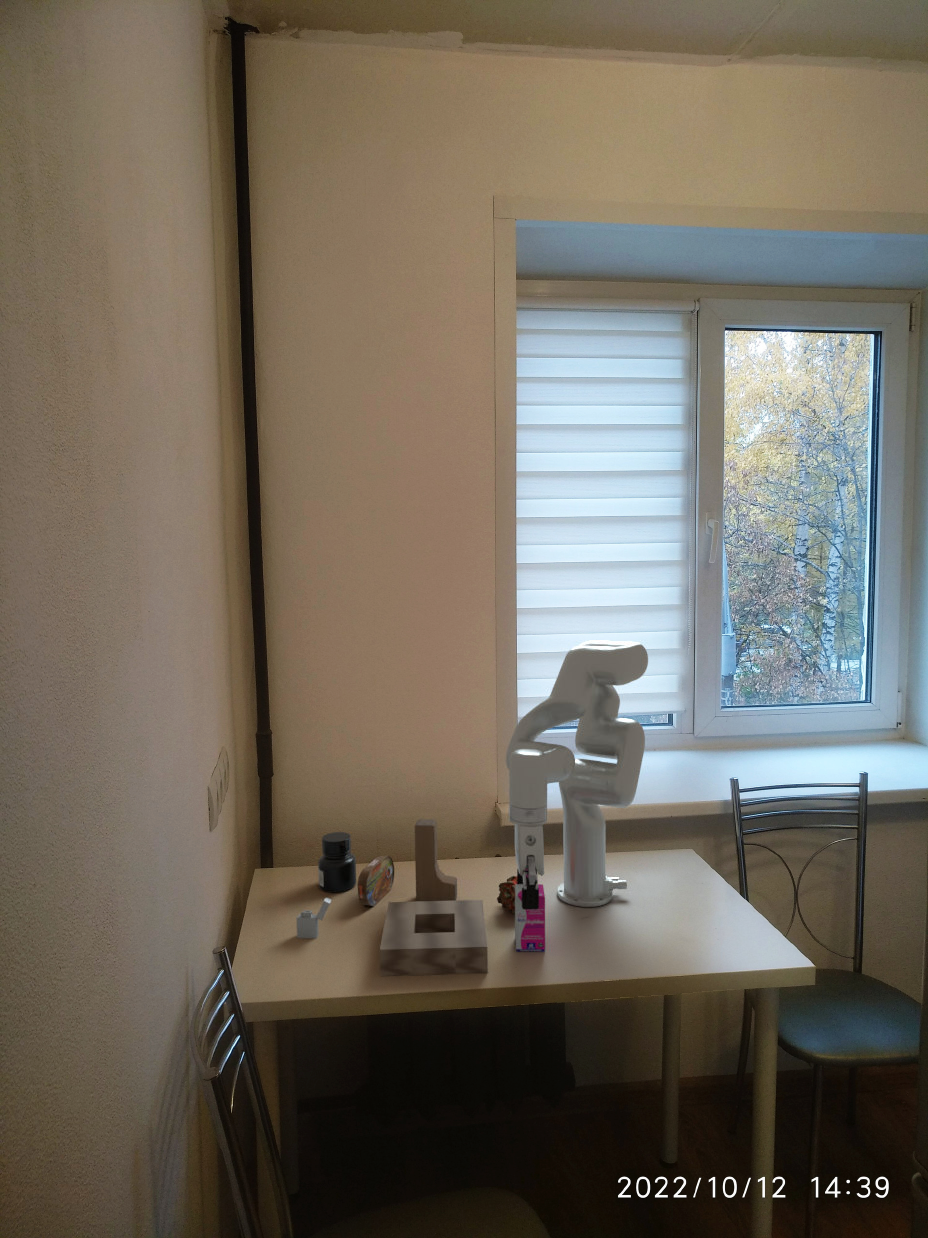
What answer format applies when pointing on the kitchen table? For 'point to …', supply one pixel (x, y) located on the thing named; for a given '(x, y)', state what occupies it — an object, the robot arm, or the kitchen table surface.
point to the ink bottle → (337, 863)
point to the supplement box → (529, 923)
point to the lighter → (310, 921)
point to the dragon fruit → (508, 894)
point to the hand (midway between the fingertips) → (527, 898)
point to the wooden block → (430, 866)
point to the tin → (375, 880)
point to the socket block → (434, 938)
